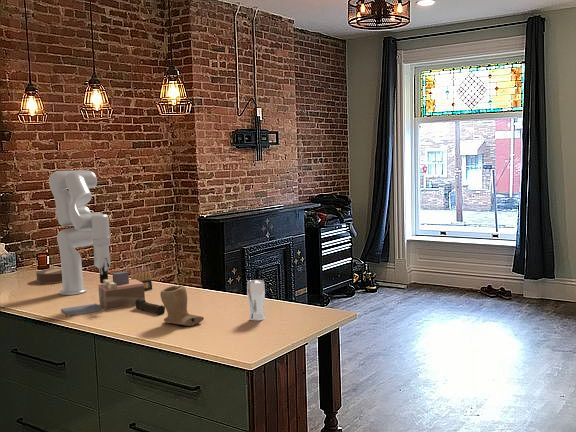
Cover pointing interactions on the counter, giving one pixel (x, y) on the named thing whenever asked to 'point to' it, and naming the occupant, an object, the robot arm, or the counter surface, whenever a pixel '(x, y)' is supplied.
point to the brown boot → (178, 306)
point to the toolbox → (120, 297)
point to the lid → (122, 281)
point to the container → (49, 276)
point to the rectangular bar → (110, 284)
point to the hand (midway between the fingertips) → (104, 282)
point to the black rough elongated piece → (149, 307)
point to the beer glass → (256, 299)
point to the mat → (82, 309)
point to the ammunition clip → (143, 277)
